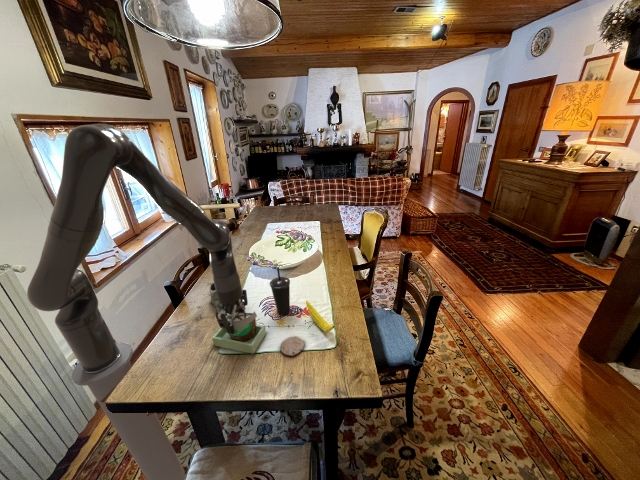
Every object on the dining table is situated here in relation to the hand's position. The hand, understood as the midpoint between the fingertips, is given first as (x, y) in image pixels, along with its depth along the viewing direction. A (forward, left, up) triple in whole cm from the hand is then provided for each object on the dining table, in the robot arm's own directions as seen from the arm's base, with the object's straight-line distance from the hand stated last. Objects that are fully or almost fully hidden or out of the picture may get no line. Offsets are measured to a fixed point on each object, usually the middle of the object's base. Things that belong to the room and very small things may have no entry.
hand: (237, 325), depth 85 cm
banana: (+25, +13, -6) cm, 29 cm away
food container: (0, 0, -6) cm, 6 cm away
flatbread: (+19, +1, -6) cm, 20 cm away
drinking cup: (+9, +17, -6) cm, 20 cm away
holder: (0, 0, -6) cm, 6 cm away
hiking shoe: (-15, +14, -6) cm, 22 cm away
